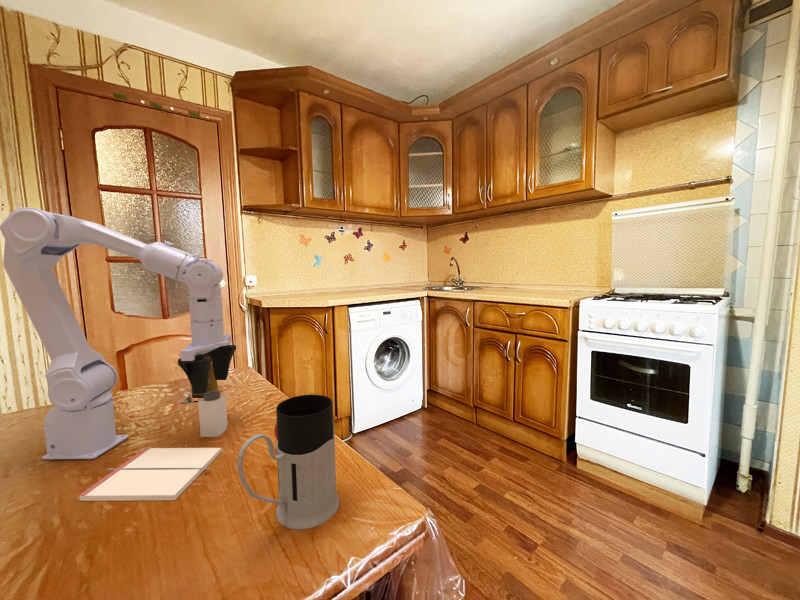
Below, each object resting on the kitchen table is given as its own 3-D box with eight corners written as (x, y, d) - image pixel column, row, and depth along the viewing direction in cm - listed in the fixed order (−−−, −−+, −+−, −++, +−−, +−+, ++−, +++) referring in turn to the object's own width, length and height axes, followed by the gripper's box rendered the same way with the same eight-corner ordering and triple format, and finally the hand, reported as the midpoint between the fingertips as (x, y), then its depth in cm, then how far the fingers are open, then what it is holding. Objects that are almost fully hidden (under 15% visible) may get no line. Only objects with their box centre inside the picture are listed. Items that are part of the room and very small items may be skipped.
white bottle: (200, 436, 68) (197, 395, 67) (210, 428, 72) (208, 389, 71) (218, 436, 68) (215, 395, 67) (227, 428, 72) (225, 389, 71)
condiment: (222, 389, 95) (220, 347, 94) (213, 401, 87) (210, 355, 85) (194, 391, 93) (191, 349, 92) (181, 403, 85) (178, 357, 84)
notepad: (69, 500, 50) (69, 495, 49) (138, 452, 62) (137, 447, 62) (184, 500, 49) (184, 494, 49) (229, 451, 62) (229, 447, 62)
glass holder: (352, 499, 49) (349, 400, 48) (266, 572, 38) (259, 444, 36) (311, 479, 54) (308, 388, 53) (224, 538, 43) (216, 424, 41)
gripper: (206, 326, 60) (211, 399, 62) (243, 314, 75) (247, 374, 76) (166, 326, 60) (172, 399, 62) (212, 315, 75) (215, 374, 76)
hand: (211, 385), depth 69 cm, fingers open, 7 cm apart
